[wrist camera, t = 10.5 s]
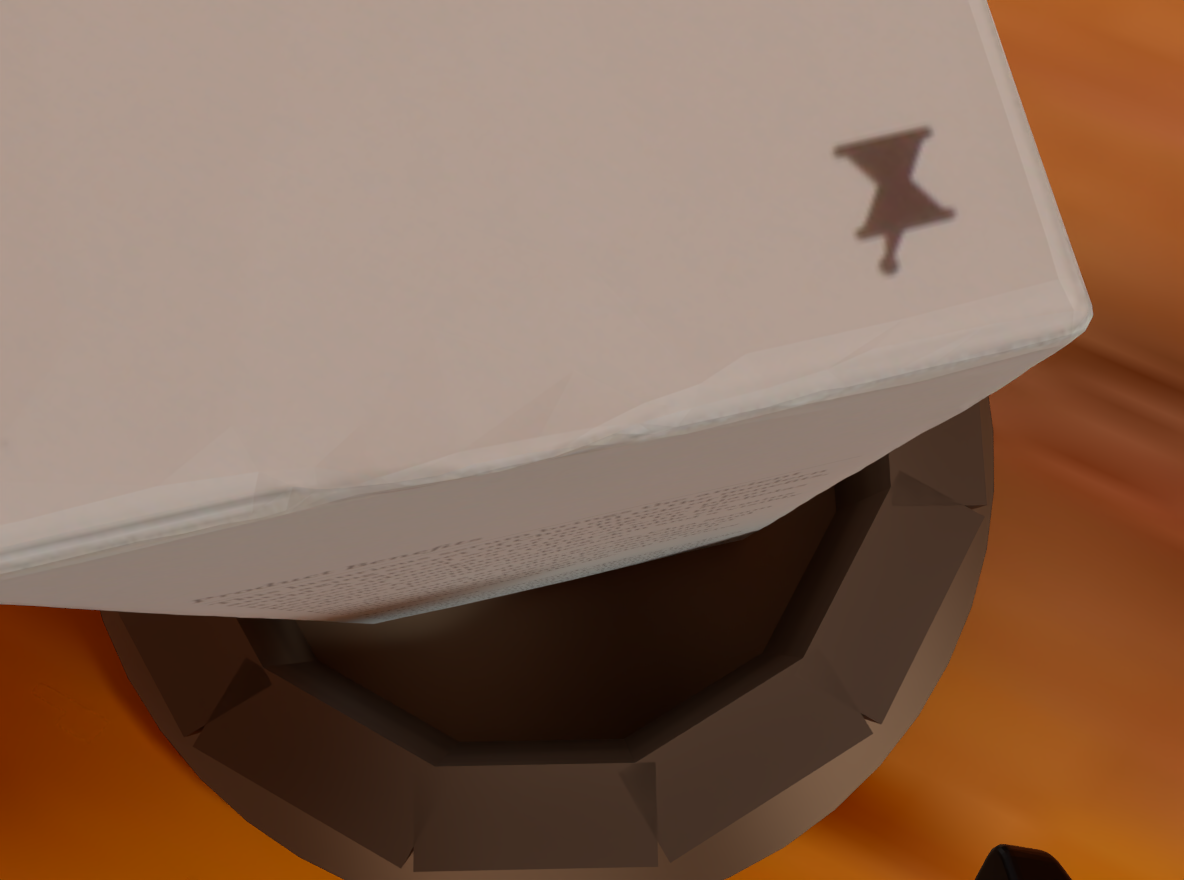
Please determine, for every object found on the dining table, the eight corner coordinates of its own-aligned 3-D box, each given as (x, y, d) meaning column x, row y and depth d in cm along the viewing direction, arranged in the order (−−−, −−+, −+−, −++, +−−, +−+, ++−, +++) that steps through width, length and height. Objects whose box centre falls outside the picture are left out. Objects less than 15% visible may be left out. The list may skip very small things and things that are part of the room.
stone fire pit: (370, 1096, 16) (311, 1234, 13) (-52, 298, 18) (-213, 212, 15) (1148, 597, 18) (1301, 589, 14) (682, -99, 20) (708, -269, 16)
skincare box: (683, 276, 18) (904, -425, 6) (749, 541, 17) (1148, 347, 5) (300, 359, 17) (-272, -208, 6) (353, 632, 17) (-171, 643, 5)
